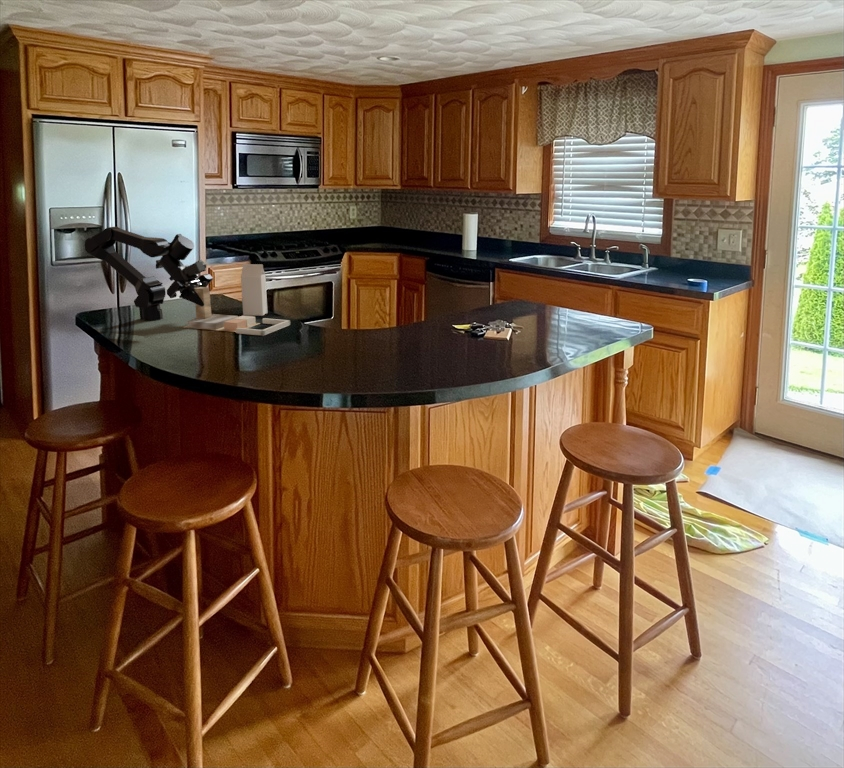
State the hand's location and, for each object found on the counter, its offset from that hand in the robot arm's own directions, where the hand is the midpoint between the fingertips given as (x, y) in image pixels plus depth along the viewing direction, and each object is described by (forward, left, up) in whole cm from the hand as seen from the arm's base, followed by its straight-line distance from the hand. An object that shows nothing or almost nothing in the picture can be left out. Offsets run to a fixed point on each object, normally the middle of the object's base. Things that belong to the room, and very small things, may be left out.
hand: (206, 304), depth 250 cm
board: (+5, -2, -8) cm, 10 cm away
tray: (+20, -7, -8) cm, 23 cm away
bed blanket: (+2, -1, -7) cm, 7 cm away
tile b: (+11, -7, -7) cm, 14 cm away
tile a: (+13, -1, -7) cm, 14 cm away
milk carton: (+12, +18, -8) cm, 23 cm away
